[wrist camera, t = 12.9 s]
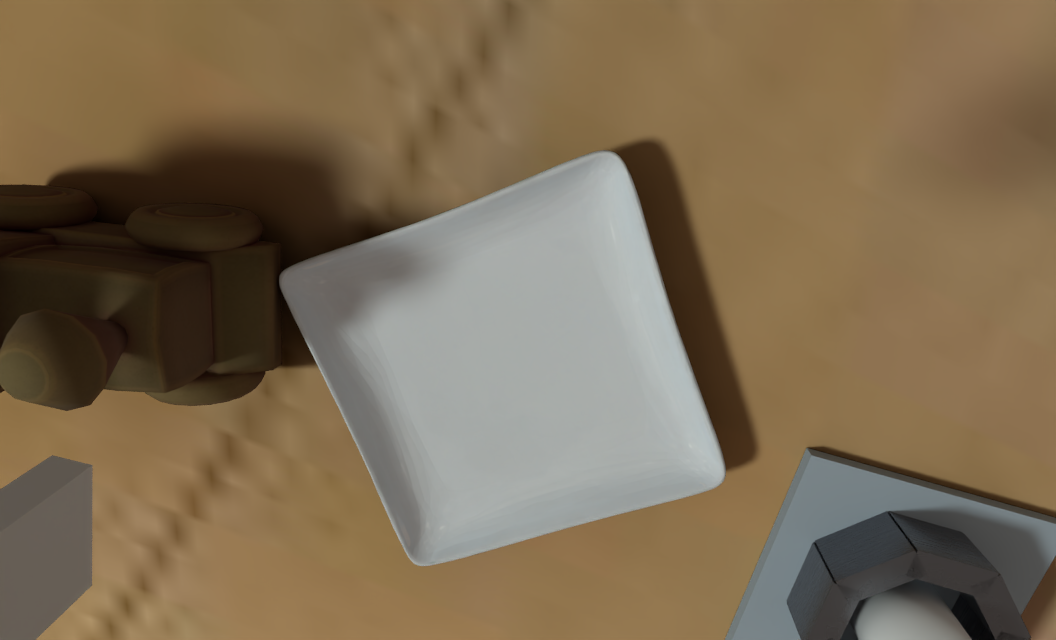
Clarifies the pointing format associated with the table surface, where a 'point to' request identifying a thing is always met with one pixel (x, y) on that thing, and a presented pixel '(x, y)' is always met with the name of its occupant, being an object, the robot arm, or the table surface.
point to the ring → (899, 577)
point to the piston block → (861, 493)
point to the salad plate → (511, 364)
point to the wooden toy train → (134, 300)
